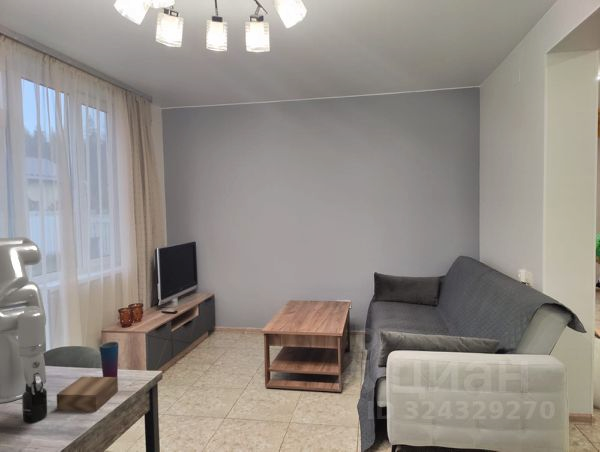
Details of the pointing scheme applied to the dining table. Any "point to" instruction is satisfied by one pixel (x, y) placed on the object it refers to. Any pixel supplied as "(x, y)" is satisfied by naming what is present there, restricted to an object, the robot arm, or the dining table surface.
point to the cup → (109, 359)
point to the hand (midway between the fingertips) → (34, 399)
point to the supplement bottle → (33, 412)
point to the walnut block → (87, 394)
